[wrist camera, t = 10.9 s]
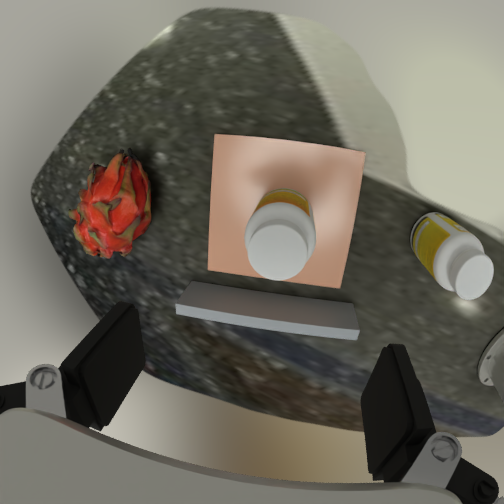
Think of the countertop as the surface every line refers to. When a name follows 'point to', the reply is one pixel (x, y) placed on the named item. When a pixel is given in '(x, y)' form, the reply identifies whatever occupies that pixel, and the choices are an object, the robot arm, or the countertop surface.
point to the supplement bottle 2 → (452, 255)
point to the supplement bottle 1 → (280, 234)
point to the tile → (283, 176)
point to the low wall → (269, 310)
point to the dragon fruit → (113, 207)
